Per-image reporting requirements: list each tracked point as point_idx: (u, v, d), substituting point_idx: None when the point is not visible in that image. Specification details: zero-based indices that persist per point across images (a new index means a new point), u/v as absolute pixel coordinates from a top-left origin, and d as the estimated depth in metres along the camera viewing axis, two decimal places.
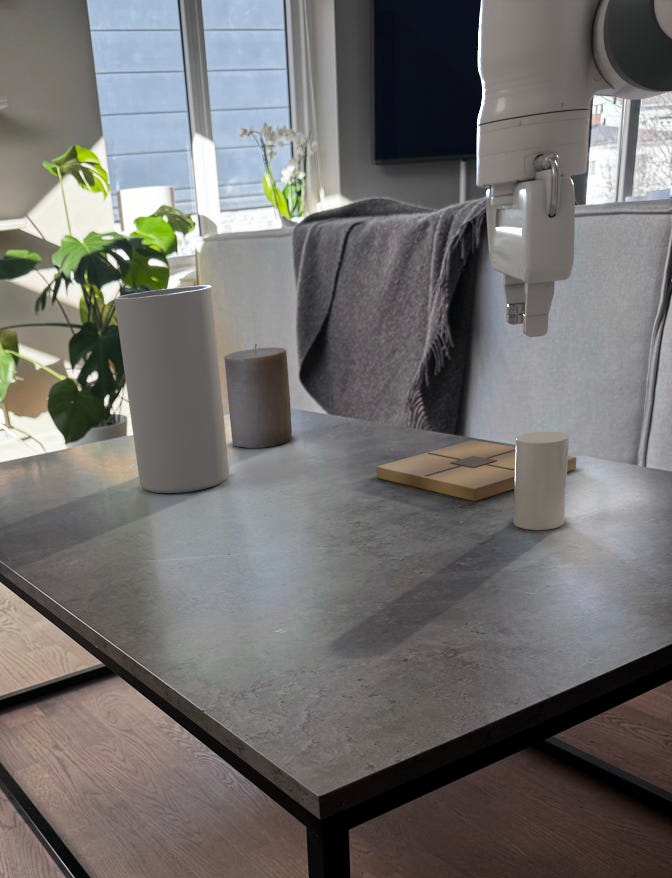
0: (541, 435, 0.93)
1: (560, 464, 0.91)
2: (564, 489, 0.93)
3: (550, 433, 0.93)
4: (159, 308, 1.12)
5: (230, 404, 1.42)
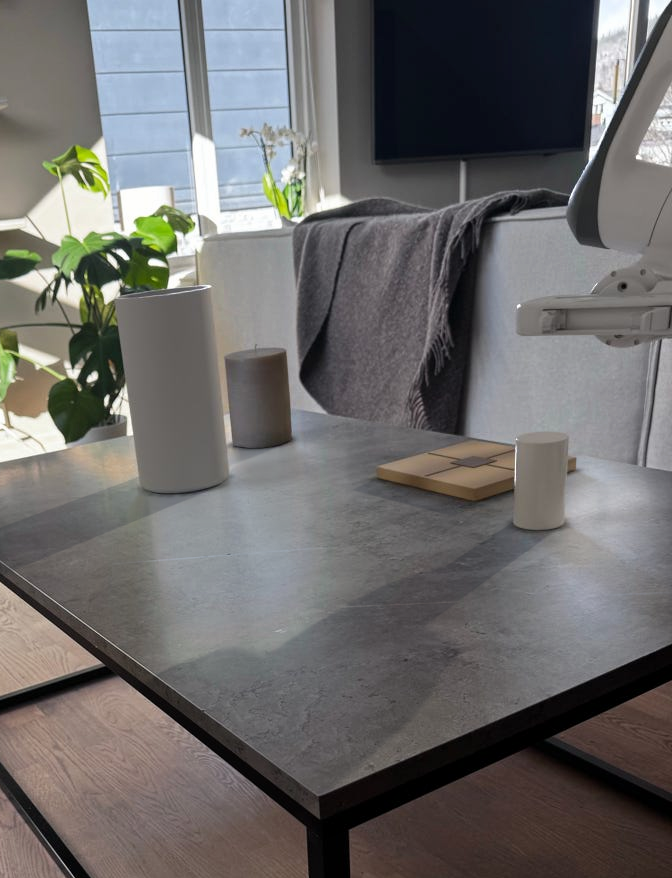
0: (541, 435, 0.93)
1: (560, 464, 0.91)
2: (564, 489, 0.93)
3: (550, 433, 0.93)
4: (159, 307, 1.12)
5: (230, 404, 1.42)
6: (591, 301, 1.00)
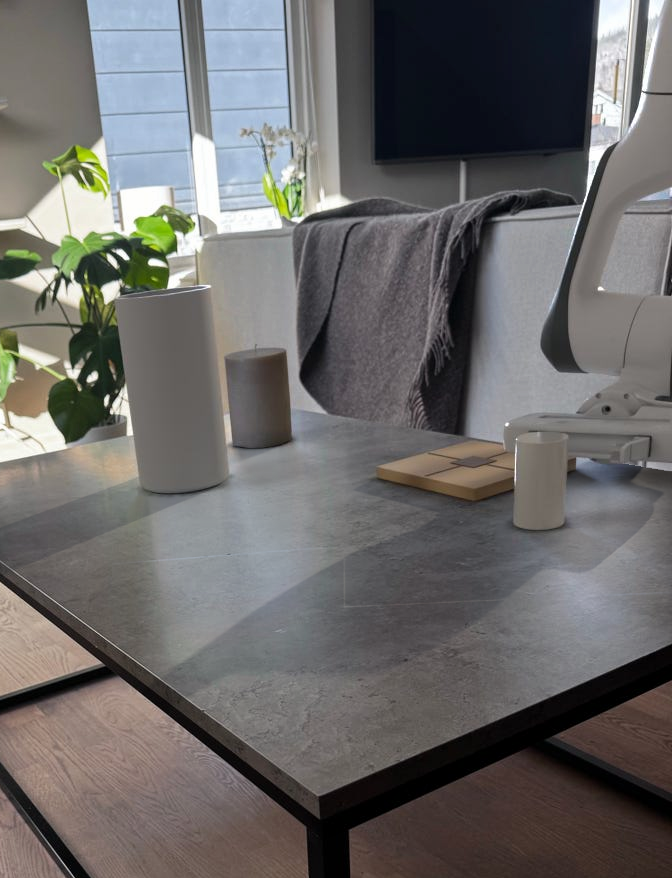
0: (541, 435, 0.93)
1: (560, 464, 0.91)
2: (564, 489, 0.93)
3: (550, 433, 0.93)
4: (159, 307, 1.12)
5: (230, 404, 1.42)
6: (575, 426, 1.03)
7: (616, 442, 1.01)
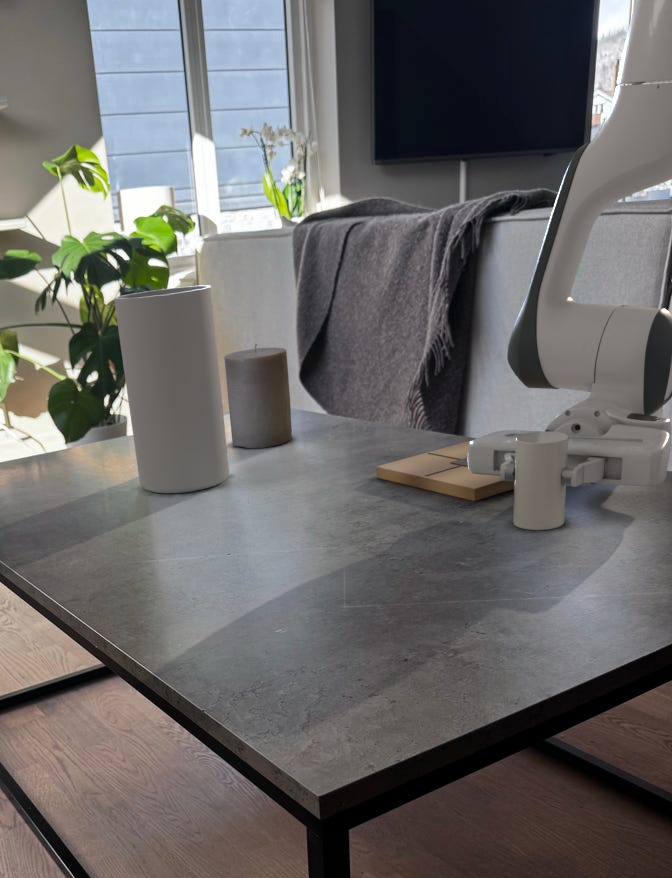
0: (541, 435, 0.93)
1: (560, 464, 0.91)
2: (564, 489, 0.93)
3: (550, 433, 0.93)
4: (159, 307, 1.12)
5: (230, 404, 1.42)
6: None
7: None
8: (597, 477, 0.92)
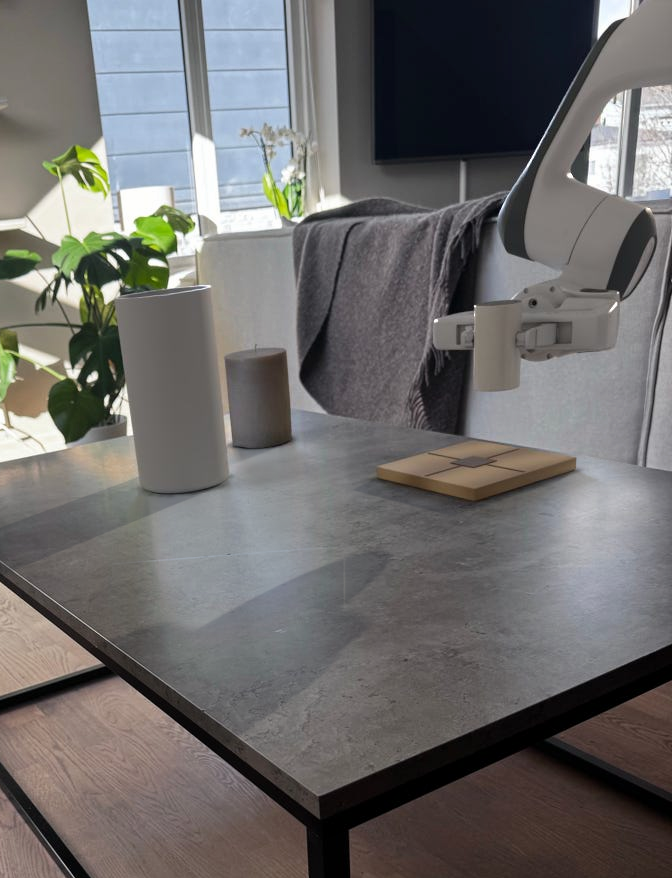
0: (497, 302, 1.00)
1: (514, 326, 0.98)
2: (519, 352, 1.00)
3: (506, 300, 1.00)
4: (159, 307, 1.12)
5: (230, 404, 1.42)
6: None
7: None
8: (549, 341, 1.00)
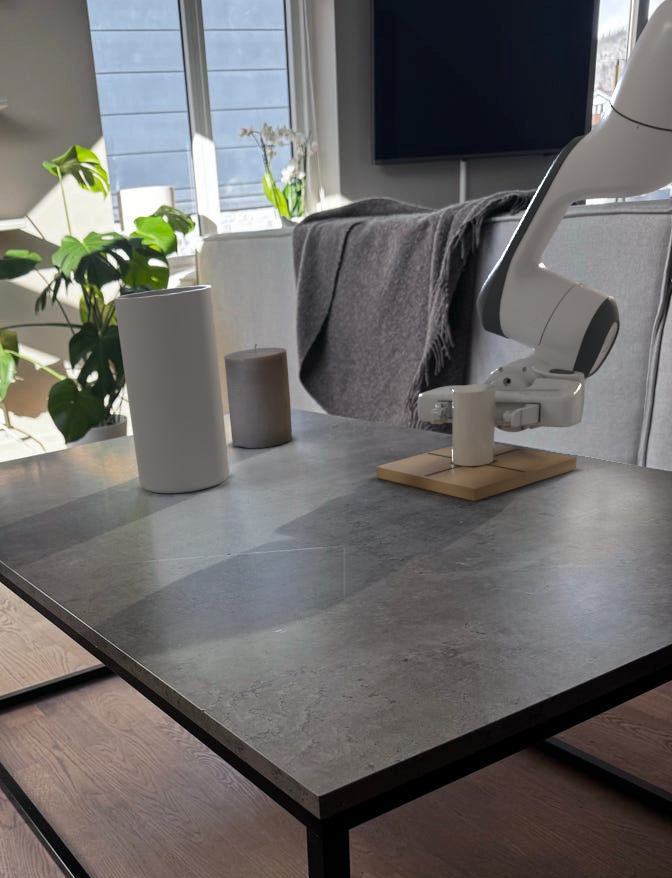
0: (473, 387, 1.11)
1: (488, 409, 1.10)
2: (492, 431, 1.11)
3: (481, 385, 1.12)
4: (159, 307, 1.12)
5: (230, 404, 1.42)
6: None
7: (512, 409, 1.13)
8: (533, 420, 1.10)
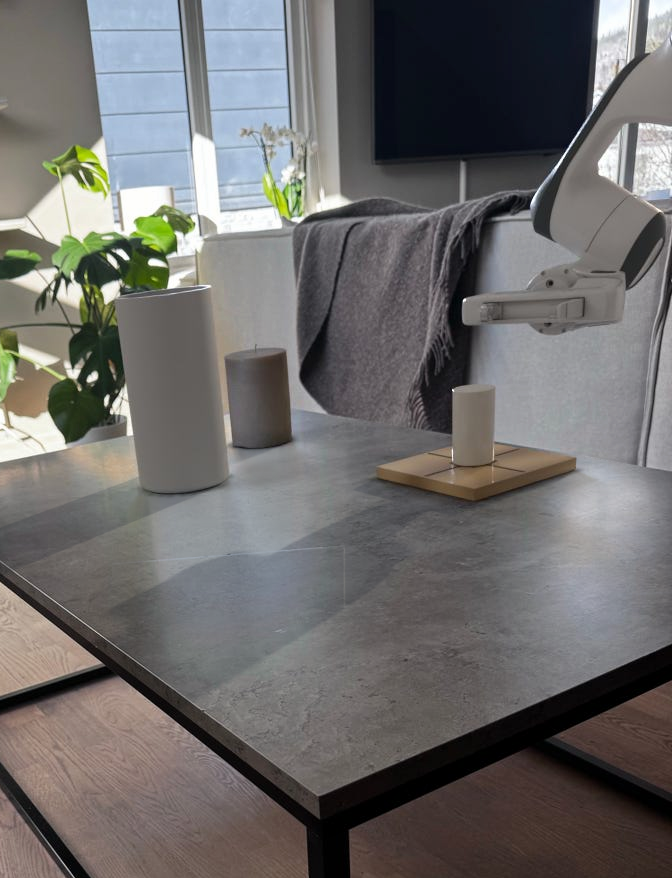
0: (473, 387, 1.11)
1: (488, 409, 1.10)
2: (492, 431, 1.11)
3: (481, 385, 1.12)
4: (159, 307, 1.12)
5: (230, 404, 1.42)
6: (521, 295, 1.20)
7: None
8: (578, 313, 1.14)
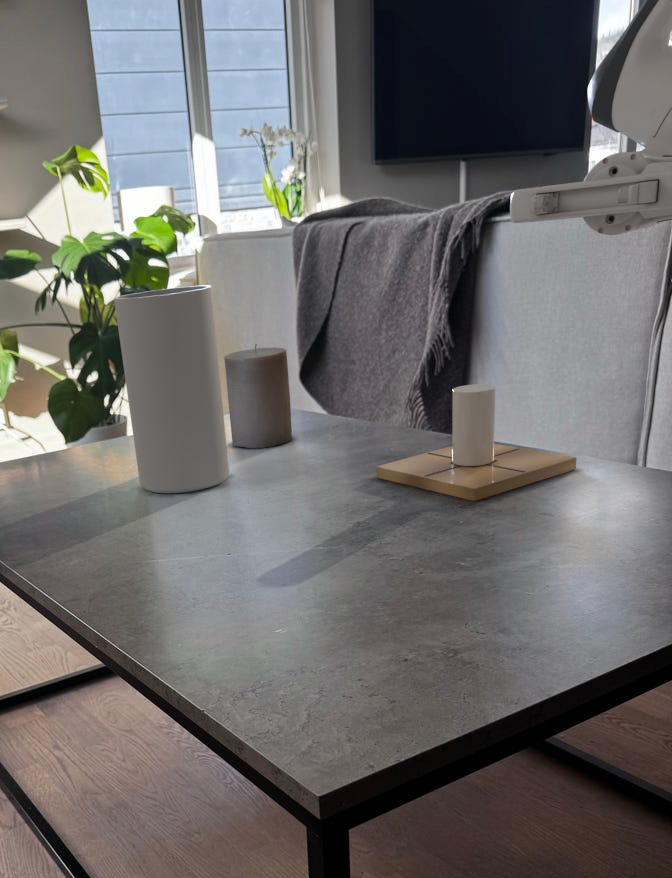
0: (473, 387, 1.11)
1: (488, 409, 1.10)
2: (492, 431, 1.11)
3: (481, 385, 1.12)
4: (159, 307, 1.12)
5: (230, 404, 1.42)
6: (582, 182, 1.03)
7: None
8: (651, 198, 0.98)
